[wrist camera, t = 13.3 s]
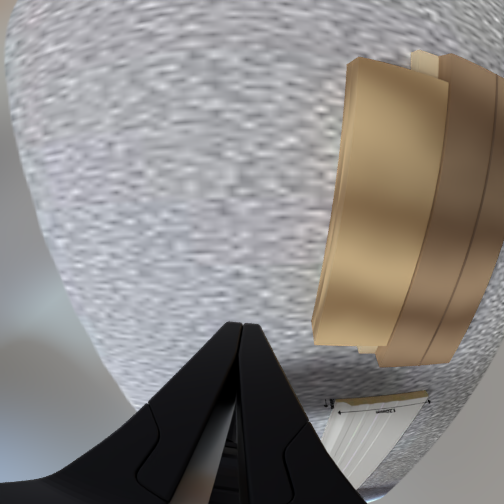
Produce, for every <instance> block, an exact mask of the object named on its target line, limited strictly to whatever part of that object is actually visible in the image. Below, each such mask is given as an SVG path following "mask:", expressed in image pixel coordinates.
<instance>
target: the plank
mask: <svg viewBox="0 0 504 504" xmlns="http://www.w3.org/2000/svg"><path fill="white" fill-rule="evenodd" d="M448 88H449V83H448V82H446V81H443V80H440V79H437V78H434V77H432V76H429V75H426V74H422V73H419V72H416V71H413V70H410V69H406V68H403V67H399V66H396V65H392V64H388V63H384V62H380V61H376V60H372V59H367V58H363V57H358V58H356V59H354V60H353V61H351V62H350V63H348V64H347V71H346V87H345V100H344V112H343V123H342V133H341V143H340V152H339V161H338V169H337V177H336V184H335V191H334V199H333V205H332V212H331V219H330V225H329V231H328V237H327V243H326V249H325V255H324V260H323V266H322V271H321V276H320V282H319V287H318V292H317V297H316V302H315V306H314V311H313V316H312V321H311V322H312V329H313V337H314V344H315V345H331V346H387V344H388V341H389V339H390V336H391V334H392V332H393V329H394V327H395V324H396V322H397V319H398V316H399V314H400V311H401V308H402V306H403V303H404V300H405V297H406V295H407V292H408V289H409V286H410V283H411V280H412V277H413V274H414V271H415V267H416V264H417V261H418V258H419V254H420V251H421V247H422V244H423V240H424V236H425V233H426V229H427V225H428V221H429V217H430V212H431V208H432V204H433V199H434V194H435V190H436V184H437V179H438V174H439V168H440V162H441V156H442V149H443V142H444V134H445V125H446V115H447V103H448Z"/></svg>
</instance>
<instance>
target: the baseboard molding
mask: <svg viewBox="0 0 504 504" xmlns="http://www.w3.org/2000/svg"><path fill="white" fill-rule="evenodd" d="M428 397H429V396H428V394H427V392H426V391H425V390H423V391H416V392H410V393H402V394H394V395H385V396H376V397H364V398H351V399H335V402H334V403H333V400H334V399H330V401H332V402H330V404H334V405H331V407H333V408H331V409H332V411H331V414H330V417H329V419H328V422H327V425H326V428H325V430H324V433H323V436H322V438H321V442H322V443H323V445H324V447H325V448H326V450H327V452H328V453H329V455H330V456H331V458H332V459H333V460H334V462H335V463H336V465H337V466H338V467H339V469H340V470H341V471H342V473H343V474H344V475H345V477H346V478H347V479H348V480H349V482H350V483H351V484H352V485H353V487H354V488H355V489H356V490H357V489H358V488H359V487H360V486H361V485H362V484H363V482H364V481H365V480H366V479H367V478H368V477H369V476H370V475H371V474H372V472H373V471H374V470H375V469H376V468H377V467H378V465H379V464H380V463H381V462H382V461H383V459H384V458H385V457H386V456H387V454H388V453H389V452H390V451H391V449H392V448H393V447H394V446H395V444H396V443H397V442H398V440H399V439H400V438H401V436H402V435H403V434H404V432H405V431H406V429H407V428H408V427H409V425H410V424H411V422H412V421H413V420H414V418H415V417H416V415H417V414H418V412H419V411H420V409H421V408H422V406H423V405H424V403H426V402H425V401H426V400H427V398H428ZM325 401H326V399H325ZM428 402H429V404H430V402H431V401H430V400H428ZM324 406H325V407H327V406H328V405H324Z"/></svg>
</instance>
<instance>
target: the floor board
mask: <svg viewBox="0 0 504 504" xmlns="http://www.w3.org/2000/svg"><path fill="white" fill-rule="evenodd" d="M411 70H413V71H416V72H419V73H422V74H426V75H429V76H432V77H434V78H437V79H440V80H443V81H446V82H448V83H449V88H448V103H447V115H446V125H445V134H444V142H443V149H442V156H441V162H440V168H439V174H438V179H437V184H436V190H435V194H434V199H433V204H432V208H431V212H430V217H429V221H428V225H427V229H426V233H425V236H424V240H423V244H422V247H421V251H420V254H419V258H418V261H417V264H416V267H415V271H414V274H413V277H412V280H411V283H410V286H409V289H408V292H407V295H406V297H405V300H404V303H403V306H402V308H401V311H400V314H399V316H398V319H397V322H396V324H395V327H394V329H393V332H392V334H391V336H390V339H389V341H388V344H387V346H357V348H358V351H359V354H366V353H375V355H376V358H377V361H378V364H379V367H401V366H417V365H418V366H420V365H430V364H441V363H449V362H450V360H451V358H452V357H453V355H454V353H455V351H456V350H457V348H458V346H459V344H460V342H461V340H462V339H463V337H464V335H465V333H466V331H467V329H468V327H469V325H470V323H471V321H472V319H473V317H474V315H475V312H476V310H477V308H478V306H479V304H480V302H481V299H482V297H483V295H484V292H485V290H486V287H487V285H488V283H489V280H490V278H491V275H492V272H493V270H494V267H495V264H496V261H497V259H498V256H499V253H500V250H501V247H502V244H503V241H504V78H502V77H500V76H498V75H497V74H494V73H493V72H491V71H489V70H487V69H485V68H483V67H481V66H479V65H477V64H475V63H472V62H470V61H468V60H466V59H464V58H461V57H459V56H457V55H454V54H452V53H451V54H447V55H443V56H439V57H438V56H436V55H433V54H430V53H427V52H425V51H422V50H417V51H414V52H411Z"/></svg>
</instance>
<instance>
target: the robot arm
mask: <svg viewBox="0 0 504 504" xmlns="http://www.w3.org/2000/svg"><path fill="white" fill-rule="evenodd" d="M0 504H367V503H366V502H365V500H364V499H363V498H362V497H361V495H360V494H359V493H358V492H357V490H356V489H355V488H354V487H353V485H352V484H351V483H350V482H349V480H348V479H347V478H346V477H345V475H344V474H343V473H342V471H341V470H340V469H339V467H338V466H337V465H336V463H335V462H334V460H333V459H332V458H331V456H330V455H329V453H328V452H327V450H326V448H325V447H324V445H323V443H322V442H321V440H320V438H319V437H318V435H317V433H316V431H315V430H314V428H313V426H312V424H311V422H309V419H308V417H307V415H306V413H305V411H304V409H303V407H302V406H301V404H300V402H299V400H298V398H297V396H296V394H295V392H294V390H293V389H292V387H291V385H290V383H289V381H288V379H287V377H286V375H285V373H284V371H283V369H282V367H281V365H280V364H279V362H278V360H277V358H276V356H275V354H274V352H273V350H272V348H271V346H270V344H269V342H268V340H267V338H266V336H265V334H264V332H263V330H262V328H261V326H260V325H259V324H251V323H245V324H244V325H243V324H242V323H240V322H230V321H229V322H226V323H225V324H224V325H223V326H222V327H221V328H220V329H219V330H218V331H217V332H216V333H215V334H214V335H213V336H212V338H211V339H210V340H209V341H208V342H207V343H206V344H205V345H204V346H203V347H202V348H201V349H200V350H199V351H198V352H197V353H196V354H195V355H194V356H193V357H192V358H191V359H190V360H189V361H188V362H187V363H186V364H185V365H184V366H183V367H182V368H181V369H180V370H179V371H178V372H177V373H176V374H175V375H174V376H173V377H172V378H171V379H170V380H169V381H168V382H167V383H166V384H165V385H164V386H163V387H162V388H161V389H160V390H159V391H158V392H157V393H156V394H155V395H154V396H153V397H152V398H151V399H150V400H149V401H148V404H147V403H146V404H145V405H144V406H143V407H142V408H141V409H140V410H139V411H138V412H137V413H136V414H135V415H133V416H132V417H131V418H130V419H129V420H128V421H127V422H126V423H125V424H123V425H122V426H121V427H120V428H119V429H118V430H116V431H115V432H114V433H112V434H111V435H110V436H108V437H107V438H106V439H105V440H103V441H102V442H101V443H99V444H98V445H96V446H95V447H93V448H92V449H91V450H89V451H88V452H87V453H85V454H84V455H82V456H81V457H79V458H78V459H76V460H75V461H73V462H72V463H70V464H69V465H68V466H66V467H64V468H63V469H61V470H60V471H58V472H56V473H54V474H52V475H49V476H46V477H43V478H39V479H34V480H27V481H17V482H5V483H0Z"/></svg>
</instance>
